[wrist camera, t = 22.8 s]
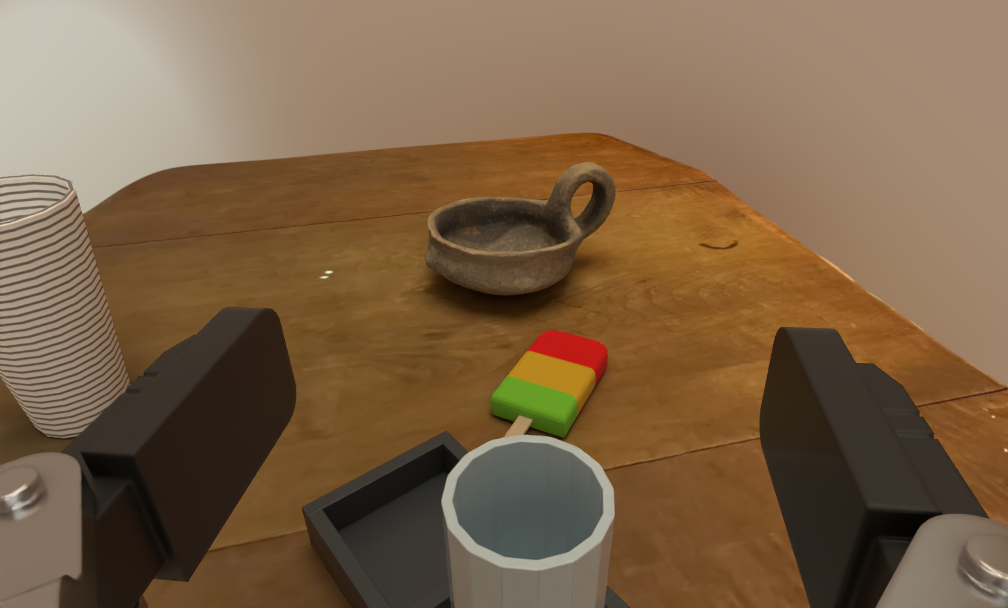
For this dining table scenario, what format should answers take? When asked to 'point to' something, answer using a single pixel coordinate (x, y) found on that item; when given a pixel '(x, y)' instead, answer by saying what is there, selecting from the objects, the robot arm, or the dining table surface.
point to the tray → (393, 531)
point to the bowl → (517, 235)
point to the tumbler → (527, 526)
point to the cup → (54, 309)
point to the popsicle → (550, 383)
